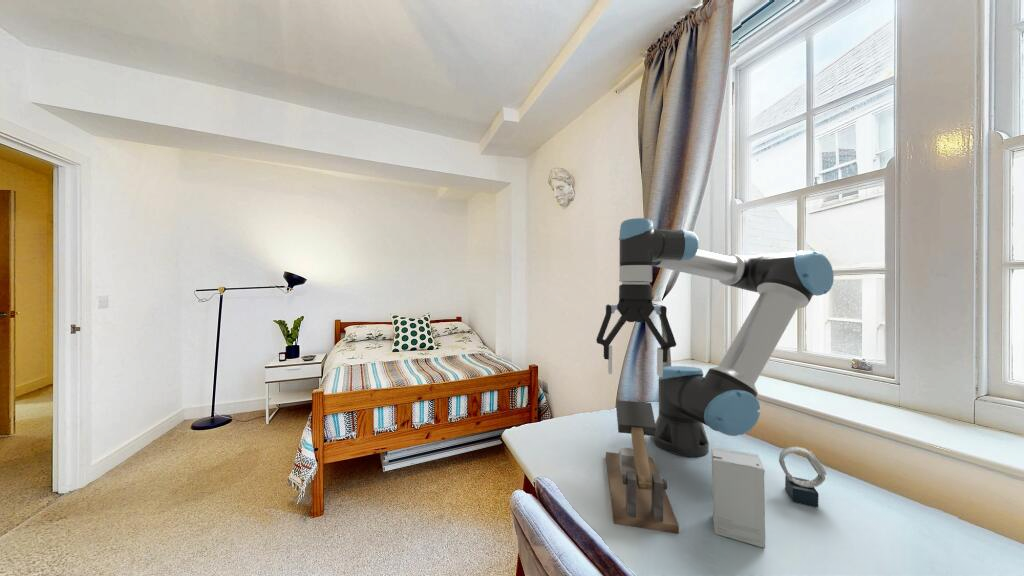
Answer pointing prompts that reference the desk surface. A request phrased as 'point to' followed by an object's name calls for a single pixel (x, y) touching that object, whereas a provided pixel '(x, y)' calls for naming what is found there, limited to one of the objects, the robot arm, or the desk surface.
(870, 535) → the desk surface
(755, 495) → the skincare box
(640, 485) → the lever
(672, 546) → the desk surface
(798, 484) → the watch
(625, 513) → the press base
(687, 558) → the desk surface
